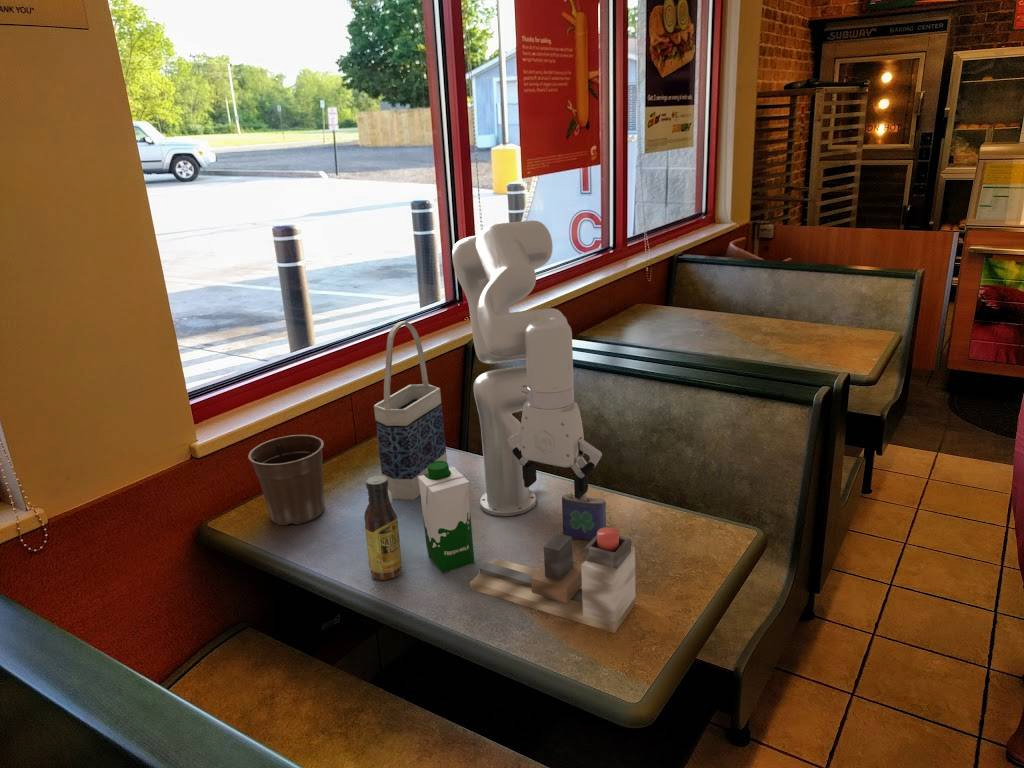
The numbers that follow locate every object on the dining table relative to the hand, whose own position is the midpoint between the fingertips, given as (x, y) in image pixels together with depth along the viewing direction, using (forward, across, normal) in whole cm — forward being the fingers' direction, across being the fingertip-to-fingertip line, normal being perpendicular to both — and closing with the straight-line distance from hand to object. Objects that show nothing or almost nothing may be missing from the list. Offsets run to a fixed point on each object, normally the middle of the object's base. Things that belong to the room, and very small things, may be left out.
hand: (555, 489), depth 130 cm
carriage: (+19, 0, 0) cm, 19 cm away
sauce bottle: (+22, -34, -7) cm, 42 cm away
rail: (+22, -2, 0) cm, 22 cm away
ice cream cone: (+22, -43, +3) cm, 49 cm away
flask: (+22, -5, +21) cm, 31 cm away
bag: (+23, -53, +27) cm, 64 cm away
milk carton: (+22, -25, +2) cm, 34 cm away
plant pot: (+23, -69, +3) cm, 73 cm away
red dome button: (+9, +10, 0) cm, 13 cm away
